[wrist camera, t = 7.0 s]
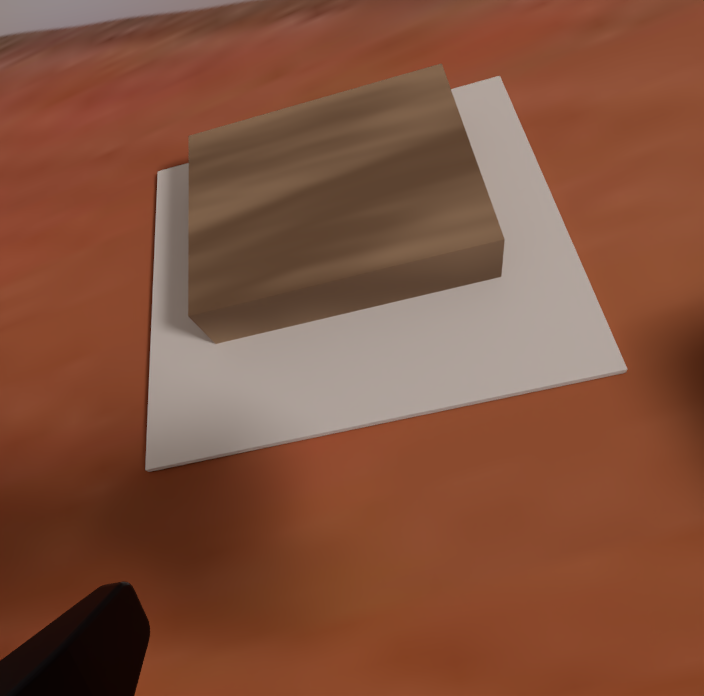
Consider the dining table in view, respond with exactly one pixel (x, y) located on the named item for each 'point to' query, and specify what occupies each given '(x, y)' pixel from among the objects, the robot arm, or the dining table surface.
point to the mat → (381, 327)
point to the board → (336, 208)
